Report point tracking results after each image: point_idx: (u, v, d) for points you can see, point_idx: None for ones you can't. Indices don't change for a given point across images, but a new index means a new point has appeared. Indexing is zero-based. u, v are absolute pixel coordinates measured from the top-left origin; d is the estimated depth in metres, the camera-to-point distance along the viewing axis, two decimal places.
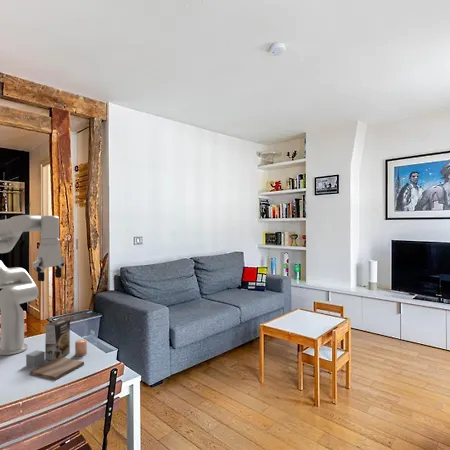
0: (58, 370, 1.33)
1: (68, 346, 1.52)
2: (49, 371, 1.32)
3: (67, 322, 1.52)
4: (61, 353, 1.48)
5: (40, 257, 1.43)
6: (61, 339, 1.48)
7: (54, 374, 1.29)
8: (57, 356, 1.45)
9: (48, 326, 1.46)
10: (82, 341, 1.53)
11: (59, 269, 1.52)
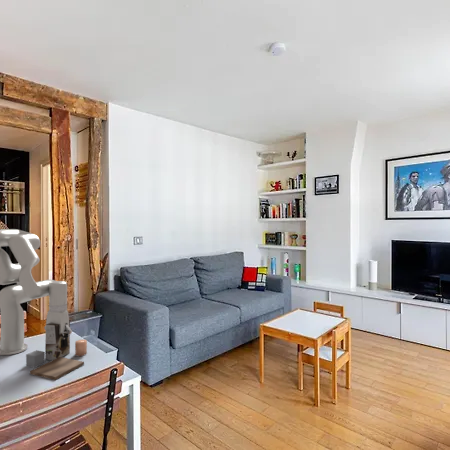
0: (58, 370, 1.33)
1: (68, 346, 1.52)
2: (49, 371, 1.32)
3: None
4: (61, 352, 1.48)
5: (65, 322, 1.48)
6: None
7: (54, 374, 1.29)
8: (57, 356, 1.45)
9: (48, 326, 1.46)
10: (82, 341, 1.53)
11: None
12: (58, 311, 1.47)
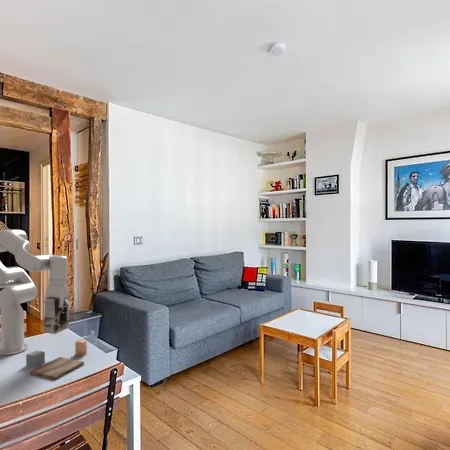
0: (58, 370, 1.33)
1: (67, 321, 1.53)
2: (49, 371, 1.32)
3: None
4: (60, 327, 1.48)
5: (65, 297, 1.48)
6: None
7: (54, 374, 1.29)
8: (56, 330, 1.46)
9: (47, 300, 1.46)
10: (82, 341, 1.53)
11: None
12: (58, 285, 1.46)
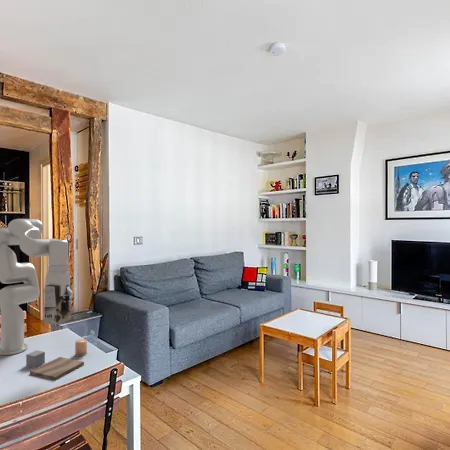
0: (58, 370, 1.33)
1: (69, 311, 1.39)
2: (49, 371, 1.32)
3: None
4: (62, 317, 1.35)
5: (66, 284, 1.35)
6: None
7: (54, 374, 1.29)
8: (57, 320, 1.32)
9: (47, 287, 1.33)
10: (82, 341, 1.53)
11: None
12: (58, 271, 1.33)
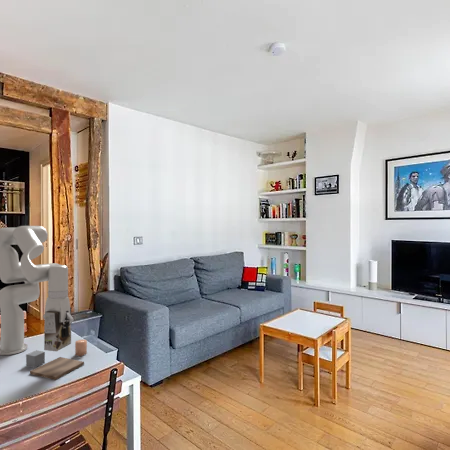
0: (58, 370, 1.33)
1: (69, 336, 1.39)
2: (49, 371, 1.32)
3: None
4: (62, 343, 1.35)
5: (66, 310, 1.35)
6: None
7: (54, 374, 1.29)
8: (57, 347, 1.32)
9: (47, 314, 1.33)
10: (82, 341, 1.53)
11: None
12: (58, 297, 1.33)
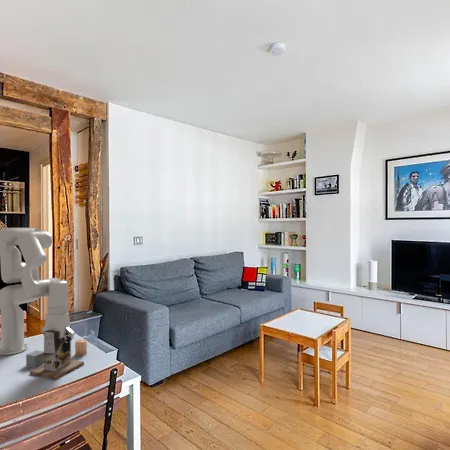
0: (58, 370, 1.33)
1: (69, 355, 1.39)
2: (49, 371, 1.32)
3: None
4: (61, 362, 1.35)
5: (66, 326, 1.35)
6: (61, 347, 1.35)
7: (54, 374, 1.29)
8: (56, 366, 1.32)
9: (47, 333, 1.33)
10: (82, 341, 1.53)
11: None
12: (58, 313, 1.33)
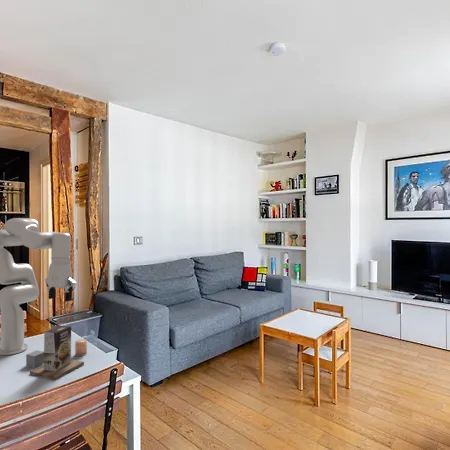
0: (58, 370, 1.33)
1: (69, 355, 1.39)
2: (49, 371, 1.32)
3: (68, 329, 1.38)
4: (61, 363, 1.35)
5: (68, 276, 1.39)
6: (61, 347, 1.34)
7: (54, 374, 1.29)
8: (56, 367, 1.32)
9: (47, 333, 1.33)
10: (82, 341, 1.53)
11: (54, 289, 1.43)
12: (60, 263, 1.37)
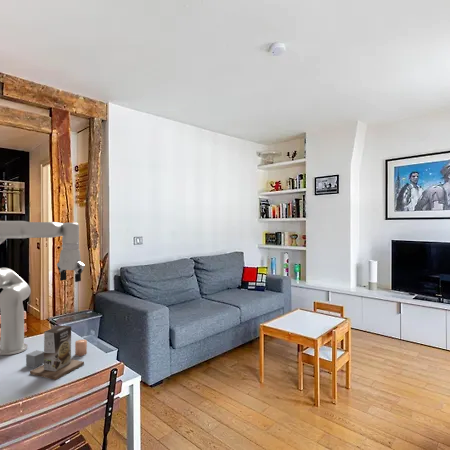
0: (58, 370, 1.33)
1: (69, 355, 1.39)
2: (49, 371, 1.32)
3: (68, 329, 1.38)
4: (61, 363, 1.35)
5: (78, 260, 1.59)
6: (61, 347, 1.34)
7: (54, 374, 1.29)
8: (56, 367, 1.32)
9: (47, 333, 1.33)
10: (82, 341, 1.53)
11: (64, 272, 1.64)
12: (71, 249, 1.58)
